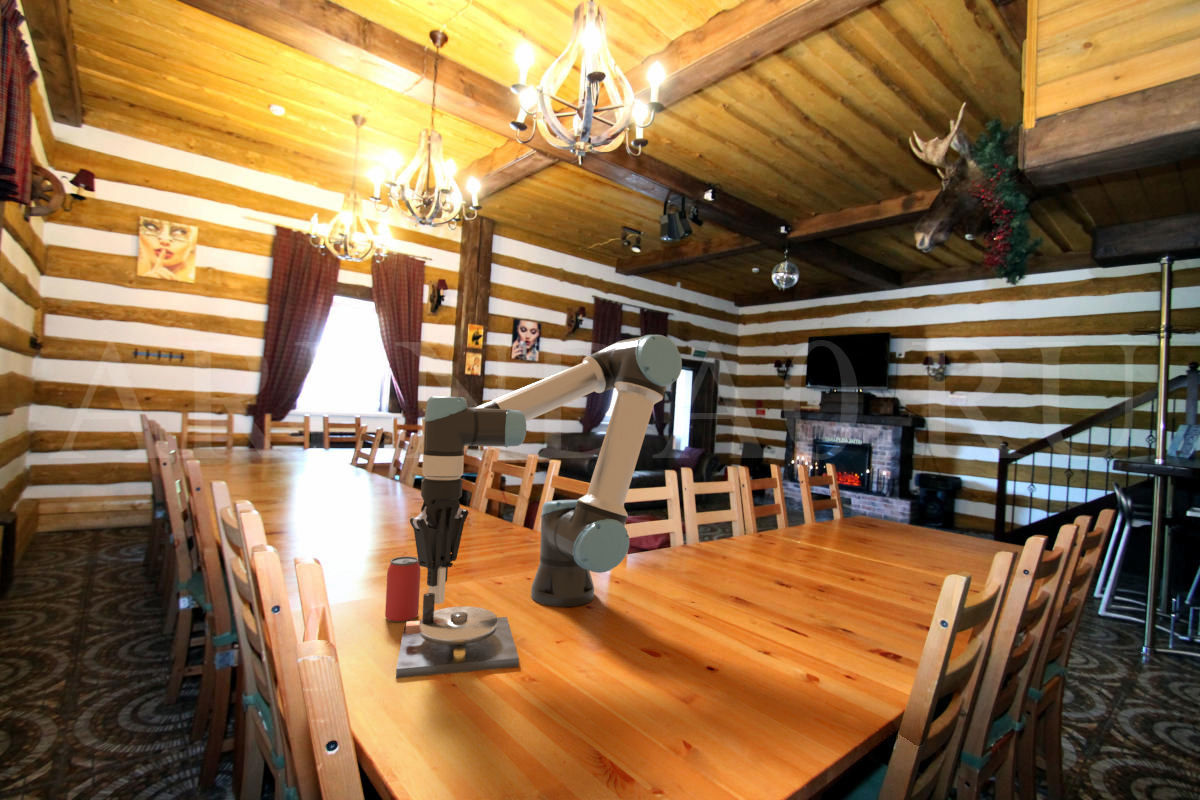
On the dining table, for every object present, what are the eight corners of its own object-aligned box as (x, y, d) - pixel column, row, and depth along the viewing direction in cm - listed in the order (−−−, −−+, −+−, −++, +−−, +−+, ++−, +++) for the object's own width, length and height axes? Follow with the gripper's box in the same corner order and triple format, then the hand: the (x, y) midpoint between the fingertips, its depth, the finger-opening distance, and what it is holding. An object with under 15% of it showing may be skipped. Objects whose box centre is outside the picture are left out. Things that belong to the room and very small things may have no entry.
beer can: (407, 625, 110) (410, 565, 110) (378, 621, 111) (381, 562, 111) (424, 613, 116) (426, 557, 116) (396, 610, 117) (399, 554, 118)
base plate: (506, 624, 112) (507, 607, 112) (518, 666, 94) (519, 646, 94) (404, 631, 107) (405, 613, 107) (395, 678, 88) (396, 656, 88)
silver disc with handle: (493, 612, 109) (495, 579, 109) (500, 641, 96) (502, 604, 96) (408, 617, 104) (409, 583, 105) (402, 648, 91) (404, 610, 91)
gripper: (452, 472, 111) (446, 588, 110) (401, 478, 99) (394, 607, 99) (480, 476, 107) (474, 596, 106) (430, 482, 96) (423, 616, 95)
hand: (436, 601), depth 103 cm, fingers closed
